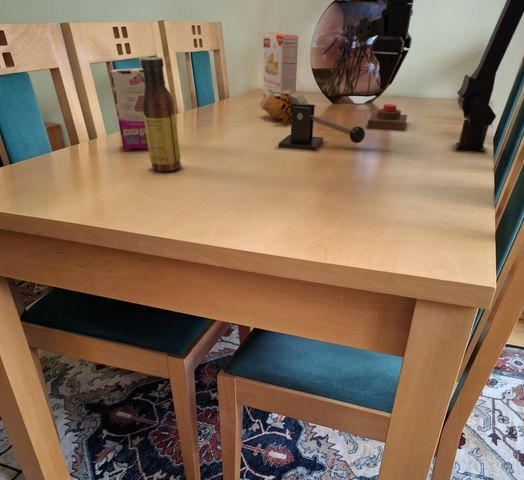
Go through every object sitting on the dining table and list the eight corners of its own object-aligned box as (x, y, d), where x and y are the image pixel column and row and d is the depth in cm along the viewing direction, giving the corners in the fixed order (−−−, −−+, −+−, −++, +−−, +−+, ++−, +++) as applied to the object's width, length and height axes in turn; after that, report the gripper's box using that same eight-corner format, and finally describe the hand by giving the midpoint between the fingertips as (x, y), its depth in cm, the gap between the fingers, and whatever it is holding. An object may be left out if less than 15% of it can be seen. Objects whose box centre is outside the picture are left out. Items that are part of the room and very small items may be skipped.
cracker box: (262, 104, 164) (262, 32, 151) (277, 103, 166) (279, 32, 153) (279, 110, 153) (281, 34, 141) (295, 109, 155) (299, 34, 143)
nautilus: (301, 131, 130) (249, 131, 133) (312, 112, 146) (266, 113, 149) (301, 100, 125) (247, 100, 128) (312, 84, 141) (265, 85, 144)
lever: (362, 143, 112) (368, 128, 109) (360, 146, 109) (366, 131, 107) (297, 118, 113) (301, 103, 111) (293, 121, 110) (298, 105, 108)
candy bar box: (168, 143, 115) (160, 67, 105) (170, 148, 111) (162, 69, 101) (122, 146, 112) (109, 67, 102) (123, 151, 108) (109, 70, 99)
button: (394, 113, 131) (396, 106, 130) (382, 112, 132) (383, 105, 131) (396, 111, 134) (397, 104, 133) (383, 110, 134) (384, 103, 133)
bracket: (323, 142, 117) (326, 103, 112) (314, 151, 110) (317, 110, 104) (289, 139, 120) (290, 101, 114) (278, 148, 112) (279, 108, 107)
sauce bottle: (167, 163, 101) (156, 55, 89) (187, 168, 97) (178, 57, 86) (144, 169, 96) (128, 57, 85) (163, 175, 93) (150, 59, 81)
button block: (403, 131, 129) (405, 115, 127) (367, 128, 131) (369, 113, 129) (405, 123, 138) (408, 108, 136) (372, 120, 141) (374, 106, 138)
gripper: (369, 3, 108) (359, 79, 117) (353, 2, 94) (343, 89, 103) (418, 4, 105) (404, 83, 114) (408, 3, 91) (393, 93, 100)
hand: (385, 86), depth 108 cm, fingers open, 9 cm apart
